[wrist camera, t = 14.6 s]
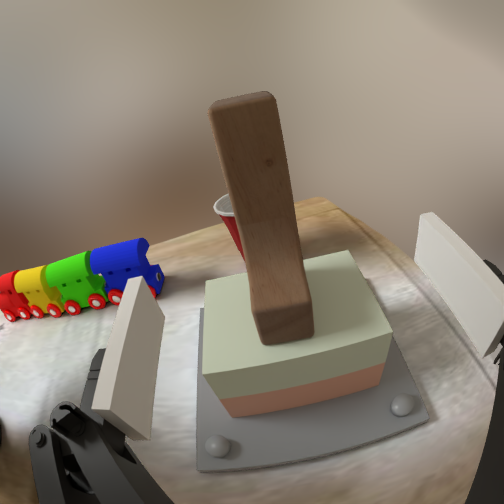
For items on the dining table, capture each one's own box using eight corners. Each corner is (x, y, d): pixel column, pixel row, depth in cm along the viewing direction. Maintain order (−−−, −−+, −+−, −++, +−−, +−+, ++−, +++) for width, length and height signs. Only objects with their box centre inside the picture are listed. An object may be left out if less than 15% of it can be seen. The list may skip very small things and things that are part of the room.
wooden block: (315, 338, 23) (285, 101, 13) (261, 347, 24) (195, 119, 13) (299, 270, 31) (268, 89, 20) (256, 278, 31) (211, 101, 21)
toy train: (6, 327, 50) (-21, 291, 44) (17, 306, 56) (-7, 271, 50) (164, 300, 48) (136, 246, 42) (169, 273, 54) (146, 222, 48)
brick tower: (200, 472, 24) (152, 442, 18) (202, 313, 44) (177, 256, 37) (426, 422, 23) (463, 371, 17) (359, 279, 43) (360, 217, 36)
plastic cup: (270, 233, 58) (259, 176, 51) (303, 258, 50) (295, 193, 43) (220, 256, 55) (202, 198, 48) (247, 287, 46) (229, 221, 40)
